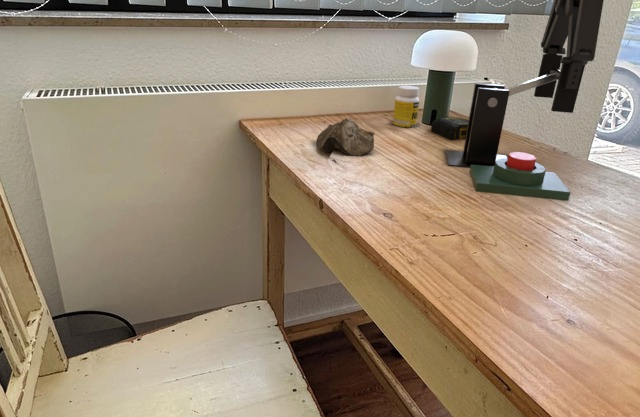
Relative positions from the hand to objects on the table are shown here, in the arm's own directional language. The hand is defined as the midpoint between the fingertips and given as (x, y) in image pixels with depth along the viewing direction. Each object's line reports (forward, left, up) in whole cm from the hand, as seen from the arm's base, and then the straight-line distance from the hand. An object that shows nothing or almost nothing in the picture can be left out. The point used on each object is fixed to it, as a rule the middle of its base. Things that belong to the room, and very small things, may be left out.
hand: (551, 103), depth 74 cm
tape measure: (+12, -15, -11) cm, 22 cm away
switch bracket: (+9, 0, -11) cm, 14 cm away
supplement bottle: (+21, -20, -11) cm, 31 cm away
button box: (+5, +10, -11) cm, 16 cm away
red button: (+5, +10, -7) cm, 13 cm away
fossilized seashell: (+31, 0, -11) cm, 33 cm away
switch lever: (+4, 0, +1) cm, 4 cm away
